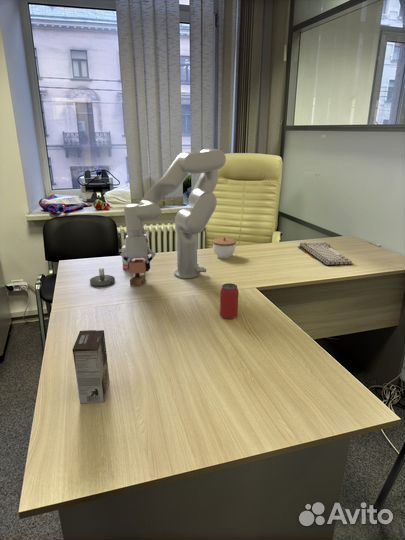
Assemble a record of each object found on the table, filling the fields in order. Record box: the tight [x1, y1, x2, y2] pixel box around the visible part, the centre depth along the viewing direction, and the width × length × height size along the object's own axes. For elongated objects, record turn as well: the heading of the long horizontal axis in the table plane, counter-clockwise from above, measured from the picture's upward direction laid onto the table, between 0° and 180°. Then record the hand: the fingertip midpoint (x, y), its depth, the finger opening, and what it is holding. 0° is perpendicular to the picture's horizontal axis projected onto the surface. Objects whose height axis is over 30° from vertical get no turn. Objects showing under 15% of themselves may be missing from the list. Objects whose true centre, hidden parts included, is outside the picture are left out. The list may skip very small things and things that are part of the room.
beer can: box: [219, 282, 239, 320], centre depth 137 cm, size 7×7×12 cm
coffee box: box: [72, 329, 110, 404], centre depth 95 cm, size 9×6×16 cm
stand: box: [129, 273, 146, 287], centre depth 168 cm, size 5×9×8 cm, turn 173°
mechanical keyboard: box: [297, 241, 353, 267], centre depth 209 cm, size 38×19×3 cm, turn 9°
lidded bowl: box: [212, 236, 237, 259], centre depth 204 cm, size 13×13×11 cm
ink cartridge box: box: [121, 238, 133, 271], centre depth 185 cm, size 9×5×15 cm, turn 84°
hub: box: [89, 267, 116, 288], centre depth 169 cm, size 11×11×7 cm
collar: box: [129, 258, 147, 274], centre depth 167 cm, size 7×7×4 cm
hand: (139, 270), depth 168 cm, fingers closed on collar, 7 cm apart
